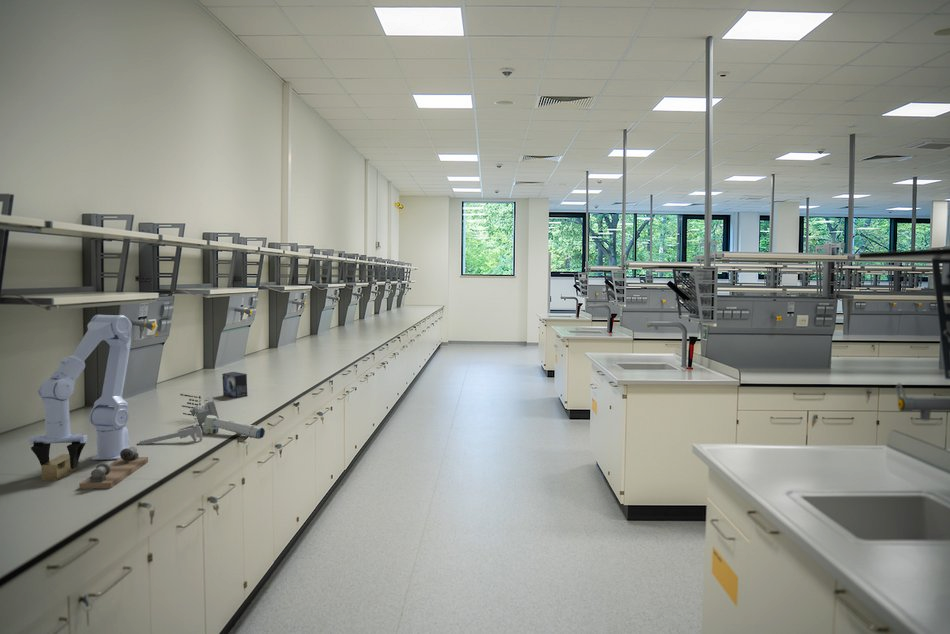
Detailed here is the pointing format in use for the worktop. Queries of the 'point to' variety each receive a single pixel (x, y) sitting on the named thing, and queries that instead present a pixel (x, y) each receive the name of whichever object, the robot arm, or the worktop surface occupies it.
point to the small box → (234, 384)
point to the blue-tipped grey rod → (231, 427)
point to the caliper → (176, 435)
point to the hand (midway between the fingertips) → (60, 468)
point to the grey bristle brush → (202, 409)
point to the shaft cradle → (114, 470)
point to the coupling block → (57, 468)
